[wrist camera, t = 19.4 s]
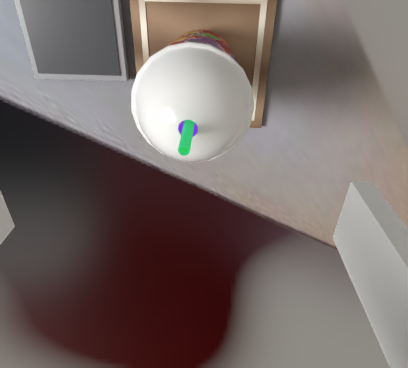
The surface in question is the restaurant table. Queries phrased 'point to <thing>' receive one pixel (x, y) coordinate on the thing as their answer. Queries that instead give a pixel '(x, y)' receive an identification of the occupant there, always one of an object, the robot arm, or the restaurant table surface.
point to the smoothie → (193, 98)
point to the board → (215, 22)
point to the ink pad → (74, 39)
